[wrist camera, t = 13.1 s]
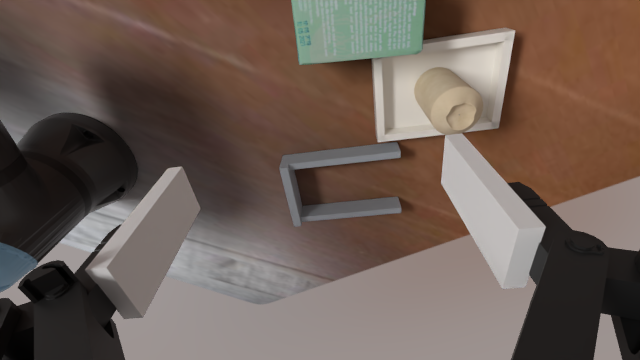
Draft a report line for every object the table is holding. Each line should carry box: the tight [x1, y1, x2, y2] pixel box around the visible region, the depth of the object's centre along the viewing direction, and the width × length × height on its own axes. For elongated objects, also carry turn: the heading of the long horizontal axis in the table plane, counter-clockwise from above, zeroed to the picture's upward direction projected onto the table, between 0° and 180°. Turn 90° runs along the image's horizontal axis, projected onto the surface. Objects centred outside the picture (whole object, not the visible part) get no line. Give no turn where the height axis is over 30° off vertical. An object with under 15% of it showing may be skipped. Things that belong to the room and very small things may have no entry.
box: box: [291, 0, 426, 65], centre depth 34 cm, size 7×14×8 cm, turn 96°
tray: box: [371, 28, 515, 142], centre depth 40 cm, size 16×12×2 cm
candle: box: [414, 67, 483, 135], centre depth 37 cm, size 6×6×10 cm
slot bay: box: [279, 142, 401, 227], centre depth 48 cm, size 17×11×4 cm, turn 98°
